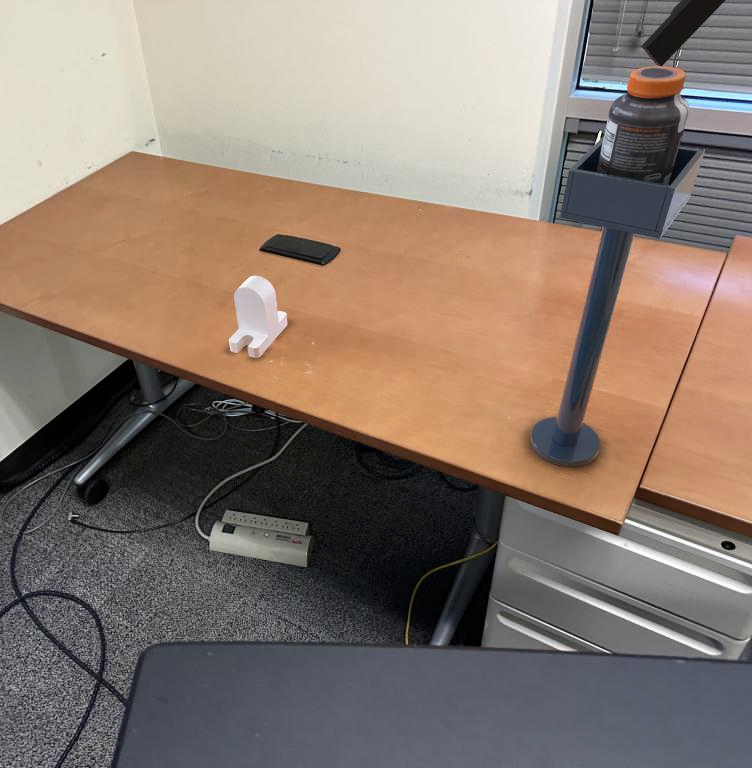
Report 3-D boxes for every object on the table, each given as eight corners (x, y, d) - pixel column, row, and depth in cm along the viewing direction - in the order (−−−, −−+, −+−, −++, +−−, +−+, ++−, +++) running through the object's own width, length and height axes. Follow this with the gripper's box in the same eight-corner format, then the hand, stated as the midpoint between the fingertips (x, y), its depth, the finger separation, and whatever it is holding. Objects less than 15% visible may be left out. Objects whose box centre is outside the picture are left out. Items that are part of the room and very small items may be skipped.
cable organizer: (288, 323, 109) (283, 268, 103) (258, 358, 103) (250, 303, 97) (260, 316, 112) (253, 262, 105) (228, 351, 105) (219, 296, 99)
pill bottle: (677, 201, 62) (718, 68, 54) (633, 222, 60) (669, 89, 53) (618, 181, 66) (649, 56, 59) (575, 201, 64) (601, 74, 57)
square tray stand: (613, 437, 83) (705, 149, 60) (586, 480, 78) (675, 188, 56) (543, 411, 88) (603, 135, 65) (514, 450, 83) (568, 170, 60)
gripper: (807, -225, 55) (593, 16, 64) (1190, -258, 36) (806, 94, 45) (842, -154, 58) (634, 65, 67) (1207, -149, 39) (848, 156, 48)
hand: (702, 77), depth 56 cm, fingers open, 13 cm apart
